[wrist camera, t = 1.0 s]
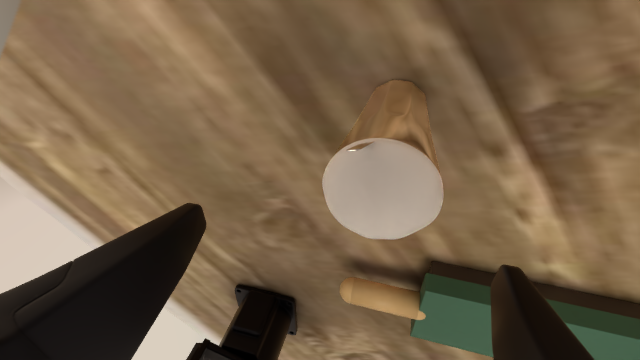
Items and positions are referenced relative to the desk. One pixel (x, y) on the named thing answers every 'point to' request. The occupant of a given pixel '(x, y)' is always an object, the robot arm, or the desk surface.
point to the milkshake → (386, 167)
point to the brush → (475, 311)
